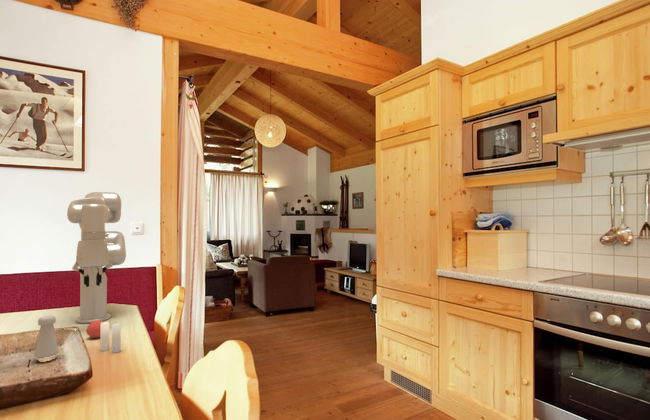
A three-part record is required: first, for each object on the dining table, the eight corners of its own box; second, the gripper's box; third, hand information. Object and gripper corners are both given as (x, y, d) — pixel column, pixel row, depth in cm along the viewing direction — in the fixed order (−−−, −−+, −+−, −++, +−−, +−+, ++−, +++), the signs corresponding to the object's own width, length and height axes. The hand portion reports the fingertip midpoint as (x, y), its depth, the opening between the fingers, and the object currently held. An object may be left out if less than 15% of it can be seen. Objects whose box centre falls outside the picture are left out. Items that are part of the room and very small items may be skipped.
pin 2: (111, 351, 119) (111, 324, 119) (119, 349, 121) (119, 322, 121) (112, 353, 117) (112, 325, 118) (121, 351, 119) (121, 324, 119)
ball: (85, 337, 134) (85, 320, 134) (104, 334, 137) (104, 317, 138) (87, 341, 129) (87, 323, 129) (107, 337, 133) (107, 320, 133)
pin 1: (99, 349, 121) (99, 322, 121) (108, 347, 122) (108, 321, 123) (101, 351, 119) (101, 324, 119) (109, 349, 121) (109, 322, 121)
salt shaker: (45, 364, 109) (45, 319, 109) (29, 363, 110) (29, 318, 110) (63, 357, 114) (63, 314, 115) (47, 355, 116) (47, 313, 116)
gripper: (115, 235, 149) (115, 282, 149) (65, 237, 139) (65, 287, 139) (119, 236, 144) (119, 284, 143) (68, 237, 133) (67, 290, 133)
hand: (92, 285), depth 141 cm, fingers open, 2 cm apart
